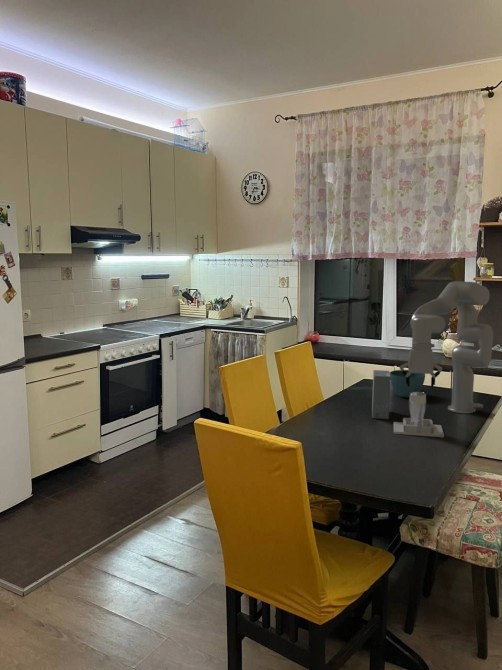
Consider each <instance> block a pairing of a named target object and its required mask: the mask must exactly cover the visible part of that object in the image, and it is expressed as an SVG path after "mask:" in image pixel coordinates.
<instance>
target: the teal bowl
mask: <svg viewBox="0 0 502 670" xmlns="http://www.w3.org/2000/svg"><path fill="white" fill-rule="evenodd" d="M404 370H405V371H406V372H408V371H409V370H408V369H404ZM389 372H390V376H391V380H390V385H391V386H392V388H393V390H394V391H395V393H396V394H397V396H398V397H400V398H407V399H408V398H409V397H410V393H411V392H421V390H422V387H423V386H424V384H425V381H426V374H419V373H411V374H410V375H409V377H410V384H409V387H408V384H406V376H405V375H404V374H403V373H402V371H401V370H400V369H398V370H392V371H389Z"/></svg>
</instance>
